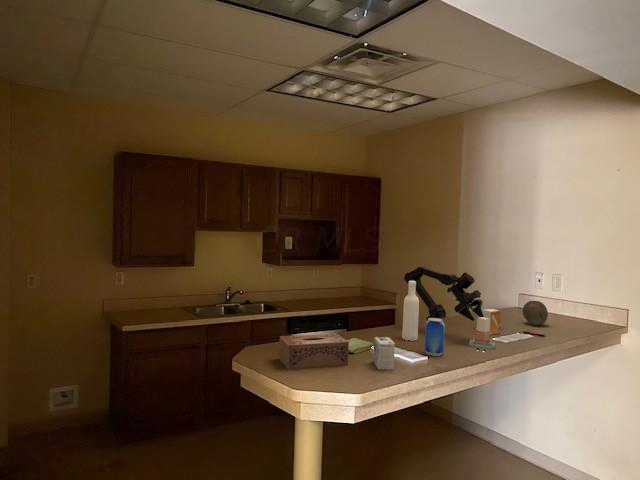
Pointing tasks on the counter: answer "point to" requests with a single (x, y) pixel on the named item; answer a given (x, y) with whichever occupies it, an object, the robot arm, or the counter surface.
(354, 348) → the washcloth
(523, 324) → the counter surface
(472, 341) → the baseplate
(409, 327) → the bottle
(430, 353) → the beer can
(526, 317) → the cantaloupe
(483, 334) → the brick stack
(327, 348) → the tissue box cover
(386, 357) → the light bulb box
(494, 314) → the small box
